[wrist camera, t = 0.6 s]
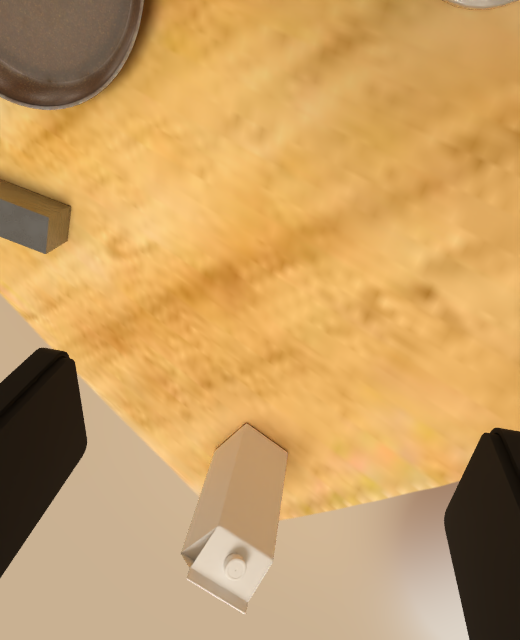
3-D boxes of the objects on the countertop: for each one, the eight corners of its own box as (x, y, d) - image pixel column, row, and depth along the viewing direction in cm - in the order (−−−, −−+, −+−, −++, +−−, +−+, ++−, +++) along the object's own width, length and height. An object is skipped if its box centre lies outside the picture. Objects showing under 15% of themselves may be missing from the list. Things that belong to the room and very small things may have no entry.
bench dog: (-21, 171, 45) (-51, 179, 42) (70, 206, 45) (48, 217, 42) (-21, 207, 47) (-50, 217, 44) (67, 241, 47) (45, 254, 44)
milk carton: (255, 477, 61) (224, 625, 44) (214, 449, 59) (167, 591, 43) (288, 451, 57) (268, 602, 41) (246, 421, 56) (207, 564, 40)
